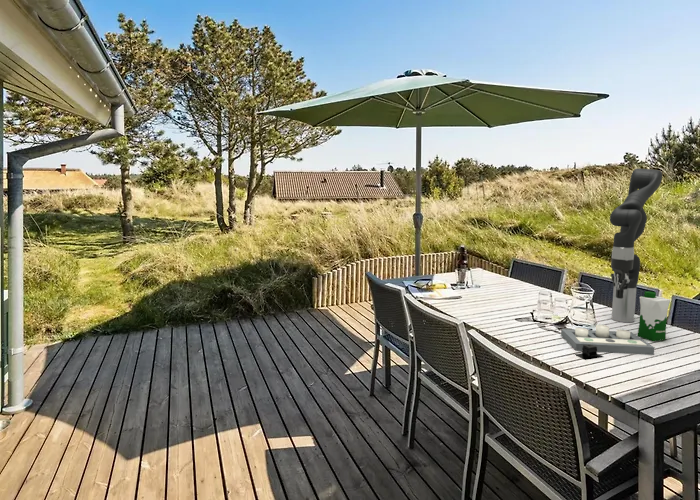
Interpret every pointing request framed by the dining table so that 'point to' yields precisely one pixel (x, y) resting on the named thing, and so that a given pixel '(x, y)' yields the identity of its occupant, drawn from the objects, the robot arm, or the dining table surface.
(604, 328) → the button
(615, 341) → the strip
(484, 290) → the dining table surface
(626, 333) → the button
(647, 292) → the milk carton
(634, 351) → the button board
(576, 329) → the button
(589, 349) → the black boxy piece
